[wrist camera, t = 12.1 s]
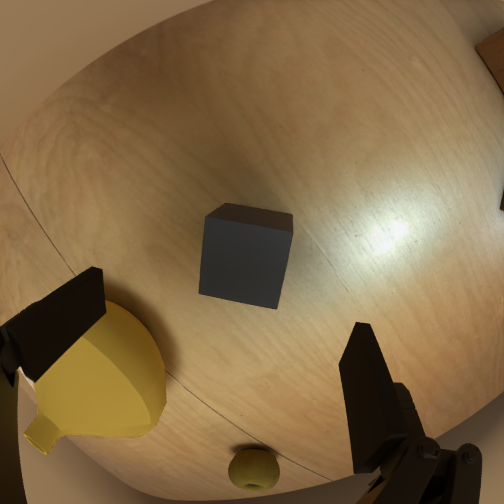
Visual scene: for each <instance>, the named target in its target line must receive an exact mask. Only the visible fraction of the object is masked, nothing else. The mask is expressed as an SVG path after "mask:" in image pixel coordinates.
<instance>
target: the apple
mask: <svg viewBox="0 0 504 504" xmlns="http://www.w3.org/2000/svg"><path fill="white" fill-rule="evenodd" d="M228 475H229V478H230V480H231V482H232V483H233V484H234V485H235V486H237V487H239V488H242V489H245V490H250V491H263V490H267V489H270V488H272V487H273V486H274V485H275V484H276V483H277V481H278V479H279V476H280V468H279V465H278V462H277V460H276V458H275V457H274V456H273V455H272V454H271V453H270V452H268V451H264V450H258V449H245V450H242V451H240V452H239V453H237V454H236V455H235V456H234V458H233V459H232V461H231V462H230V465H229V468H228Z"/></svg>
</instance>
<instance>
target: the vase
mask: <svg viewBox="0 0 504 504" xmlns="http://www.w3.org/2000/svg"><path fill="white" fill-rule="evenodd" d="M105 303H106V311H107V313H106V314H105V315H104V316H103V317H101V318H100V319H99V320H98V321H97V322H96V323H95V324H94V325H93V326H92V327H91V328H90V329H89V330H88V331H87V332H86V333H85V334H84V335H83V336H81V337H80V338H79V339H78V340H77V341H76V342H75V343H74V344H73V345H72V346H71V347H70V348H69V349H68V350H67V351H66V352H65V353H64V354H63V355H62V356H61V357H60V358H59V359H58V360H57V361H56V362H55V363H54V364H53V365H52V366H51V367H50V368H49V369H48V370H47V371H46V372H45V373H44V374H43V376H42V377H41V378H40V379H39V380H38V381H37V382H36V383H34V382H33V384H34V389H35V393H36V398H37V410H38V413H37V416H36V418H35V419H34V421H33V422H32V423H31V424H30V426H29V427H28V428H27V430H26V431H25V432H24V433H23V435H24V436H25V437H26V439H27V440H28V441H29V442H30V443H31V444H32V445H33V446H35V447H36V448H37V449H38V450H39V451H41V452H42V453H44V454H45V455H48V453H49V452H50V451H51V449H52V448H53V446H54V445H55V443H56V442H57V441H58V439H59V438H61V437H62V436H65V435H72V434H77V435H90V436H106V437H121V438H133V437H141V436H142V435H144V434H145V433H147V432H148V431H150V430H151V429H152V428H154V427H155V426H156V425H157V423H158V421H159V418H160V416H161V414H162V412H163V409H164V407H165V405H166V403H167V401H166V369H165V366H164V363H163V360H162V357H161V354H160V352H159V349H158V347H157V344H156V343H155V341H154V339H153V338H152V336H151V334H150V333H149V331H148V330H147V329H146V328H145V327H144V326H143V324H142V323H141V322H140V321H139V320H138V319H137V318H136V317H134V316H133V315H132V314H131V313H130V312H129V311H127V310H125V309H124V308H122V307H120V306H119V305H117V304H115V303H112V302H110V301H107V300H105Z"/></svg>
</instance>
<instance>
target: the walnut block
mask: <svg viewBox="0 0 504 504" xmlns="http://www.w3.org/2000/svg"><path fill="white" fill-rule="evenodd" d="M500 209H501V210H502V211H504V193H503V198H502V203H501V207H500Z"/></svg>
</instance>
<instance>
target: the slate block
mask: <svg viewBox="0 0 504 504" xmlns="http://www.w3.org/2000/svg"><path fill="white" fill-rule="evenodd" d="M292 237H293V215H292V214H287V213H281V212H276V211H270V210H265V209H259V208H253V207H247V206H242V205H235V204H229V203H224V204H223V205H221V206H220V207H219V208H217V209H216V210H214V211H213V212H211V213H210V214H209V215H207V216H206V217H205V226H204V235H203V246H202V257H201V268H200V281H199V294H202V295H207V296H211V297H216V298H221V299H225V300H230V301H235V302H240V303H245V304H250V305H255V306H260V307H265V308H271V309H277V307H278V303H279V298H280V294H281V289H282V285H283V280H284V275H285V271H286V266H287V261H288V256H289V251H290V247H291V242H292Z"/></svg>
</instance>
